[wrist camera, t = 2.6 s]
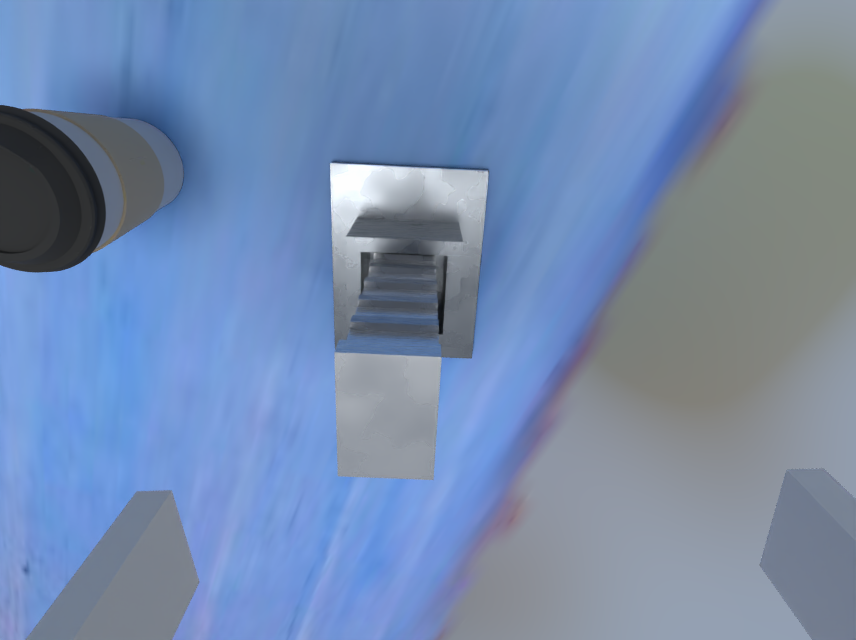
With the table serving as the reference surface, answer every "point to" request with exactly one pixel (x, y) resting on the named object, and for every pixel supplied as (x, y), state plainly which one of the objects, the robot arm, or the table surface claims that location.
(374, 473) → the column
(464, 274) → the stand
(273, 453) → the table surface
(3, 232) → the coffee cup
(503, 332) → the table surface
